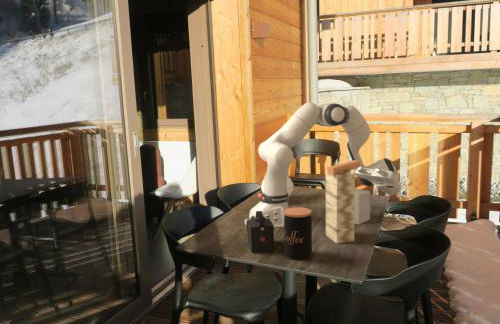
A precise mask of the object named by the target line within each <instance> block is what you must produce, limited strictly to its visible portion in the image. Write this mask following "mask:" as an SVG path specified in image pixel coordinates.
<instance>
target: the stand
mask: <svg viewBox="0 0 500 324" xmlns="http://www.w3.org/2000/svg"><path fill="white" fill-rule="evenodd" d="M355 181H356V175H355V174H354V172H352V170H351V169H347V170H344V171H340V172H338V174H337V175H327V169H326V170H325V236H327V238H329V239H330V240H331V241H333V242H334V243H335V244H343V243H350V242H351V243H352V242H355V224H354V207H355V189H356V182H355Z"/></svg>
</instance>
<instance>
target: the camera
mask: <svg viewBox="0 0 500 324" xmlns="http://www.w3.org/2000/svg"><path fill="white" fill-rule="evenodd" d="M245 219H246V224H245V226H246V233H245V234H246V242H247V246H248V248H249V249H250V252H251V253H255V252H256V253H263V252H264V251H266V252H272V251H273V252H274V251H275V231H274V230H275V228H274V225H273V224H272V222H271V220H270V219H269V217H268V216H266V217H263V213H262V211H256V216H252V218H249V217H246V218H245Z"/></svg>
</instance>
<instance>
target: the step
mask: <svg viewBox="0 0 500 324" xmlns="http://www.w3.org/2000/svg"><path fill="white" fill-rule="evenodd" d="M370 219H371V191H370V190H365V189H359V188H355V207H354V225H360V224H363V223H365V222H367V221H370Z"/></svg>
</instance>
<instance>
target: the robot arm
mask: <svg viewBox="0 0 500 324" xmlns="http://www.w3.org/2000/svg"><path fill="white" fill-rule="evenodd" d="M315 125H319V126H322V127H329V128H331V127H338V126H340V127H342V128H343V130H344V132H345V133H346V136H347V139H348V141H347V143H346V145H347V146H346V147H347V151H348V153H349V156H350V158H351V161H353V160H357V161H360V168H357V169H354V171H353V173H354V174H355V177H358V179H359V182H360V183H361V185H363V186H365V187H367V188H368V187H369V188H371V187H373V186H375V187H376V188H377V189H379V190H380V191H381V192H383V193H384V194H385V195H386V194H387V195H389V196H395V195H398V194H399V193H400V192H401V190H402V185H401V182H400V181H399V178H400V174H399V173H398V170H397V167H396V164H395V162H393V160H391V159H389V158H385V157H383V158H381V159H379V160H377V161H375V162H374V163H372V164H371V163H370V165H366V166H365V165H364V161H363V160H362V157H361V155H360V150H361V148H362V147H363V146H364V145H365V144H366V142H367V141H368V140H369V138H370V137H371V136H370V135H371V128H370V125H369V123H368V121H367V120H366V119H365V118H364V116H363V115H362V113H361V112H360V111H359V110H358V108H356V107H355V106H354V105H347V106H343V105H341V104H340V103H325V104H320V105H319V106H318V105H317V104H315V103H314V102H311V101H309V102H308V101H307V102H305V103H304V104H303V105H301V106H300V107H299V108H298V109H297V110H296V111H295V112H294V113H293V114H292V115H291V116H290V117H289V118H288V120H286V122H285V123H284V124H283V125H282V126H281V127H280V129H278V130H277V131H276V132H275V133H274V134H272V135H271V136H270V137H269V138H268V139H266V140H264V141H262V142H261V143H260V144H259V146H258V149H257V153H258V155H259V157H260V158H261V160H262V161H263V162H265V163H267V167H266V173H265V175H264V177H263V180H264V193H261V192H260V193H258V194H257V198H259V199H260V201H259V202H258V203H257V204H255V206H253V207H252V208H250V210H249V216H248V218H252V216H256V211H262V213H263V217H266V216H268V217H269V219H270V220H271V222H272V224H273V225H274V229H275V228H284V216H285V214H284V210H285V209H288V208H289V203H290V199H289V197H290V195H289V196H288V193H287V176H289V170H290V167H291V166H290V165H291V164H292V163H293V161H294V156H295V155H294V151H292V149H291V148H293V147H294V146H295V145H298V144H299V143H300V142H302V141H303V139H304V138H305V137H306V136H307V134H309V132H310V131H311V130H312V129H313V127H314V126H315ZM288 202H289V203H288ZM244 224H245V225H246V218H245V219H244Z"/></svg>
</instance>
